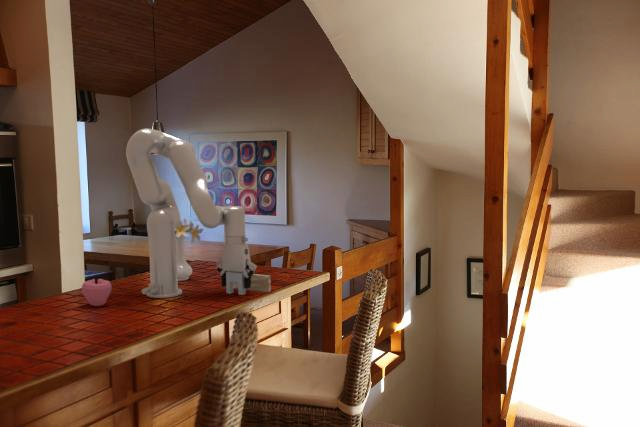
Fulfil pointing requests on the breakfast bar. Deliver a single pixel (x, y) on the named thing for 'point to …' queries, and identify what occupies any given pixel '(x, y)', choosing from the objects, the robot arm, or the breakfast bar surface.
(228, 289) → the notched plate
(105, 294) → the apple
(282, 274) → the breakfast bar surface
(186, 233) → the flower vase
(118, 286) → the breakfast bar surface
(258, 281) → the beige notched bar
